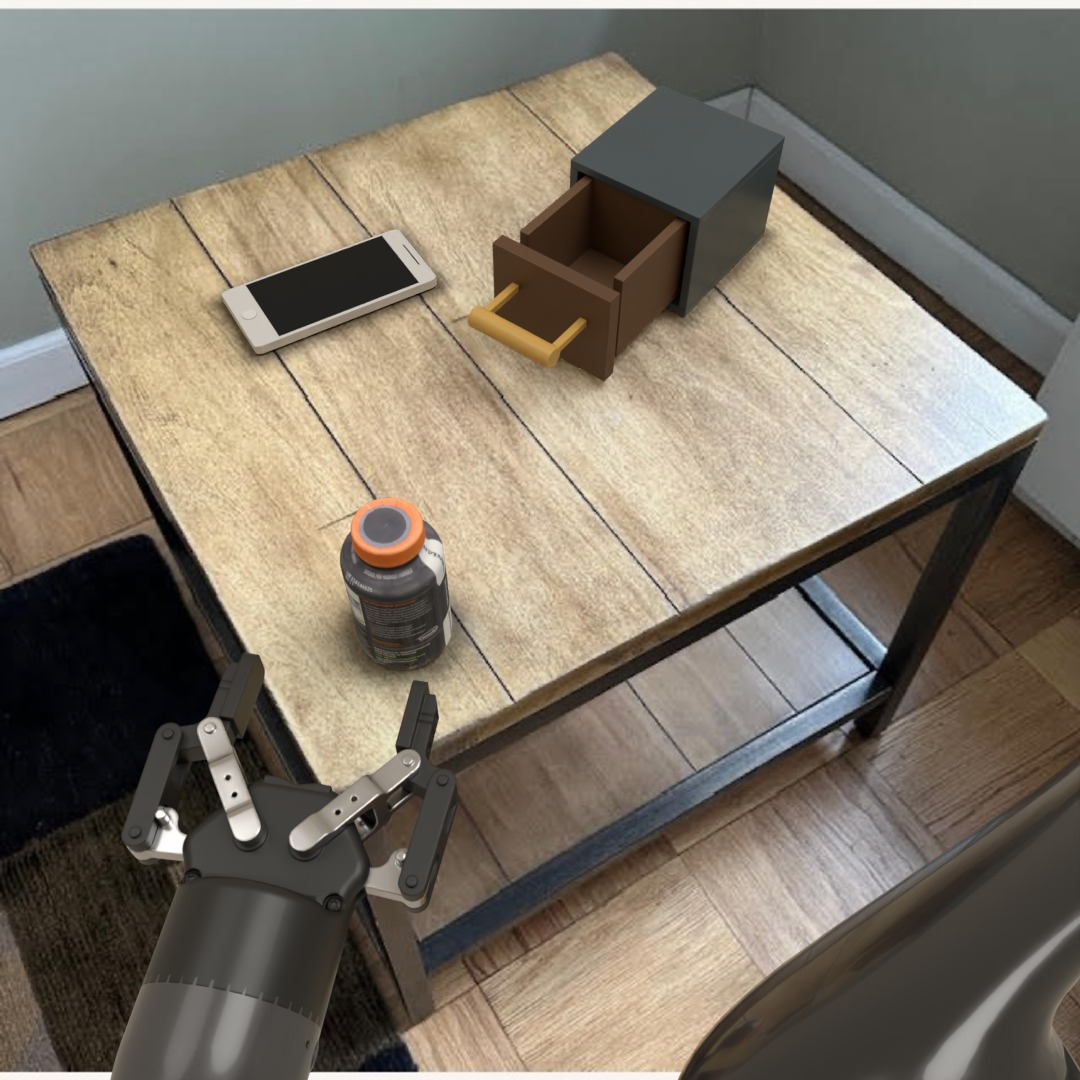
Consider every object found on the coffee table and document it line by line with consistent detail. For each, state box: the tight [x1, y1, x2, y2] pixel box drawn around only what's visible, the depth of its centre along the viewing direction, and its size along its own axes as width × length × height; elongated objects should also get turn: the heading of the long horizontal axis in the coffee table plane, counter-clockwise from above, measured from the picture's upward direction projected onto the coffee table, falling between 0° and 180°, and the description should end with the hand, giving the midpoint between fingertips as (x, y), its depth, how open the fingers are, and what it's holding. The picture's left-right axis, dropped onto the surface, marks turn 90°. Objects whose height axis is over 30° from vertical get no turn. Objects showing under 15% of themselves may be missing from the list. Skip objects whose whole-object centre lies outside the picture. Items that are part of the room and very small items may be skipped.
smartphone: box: [221, 229, 438, 355], centre depth 86 cm, size 7×16×1 cm, turn 121°
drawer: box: [467, 174, 691, 383], centre depth 80 cm, size 16×10×8 cm, turn 143°
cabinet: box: [569, 84, 786, 318], centre depth 87 cm, size 12×11×9 cm
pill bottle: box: [339, 496, 453, 671], centre depth 64 cm, size 6×6×11 cm
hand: (337, 674), depth 54 cm, fingers open, 8 cm apart
